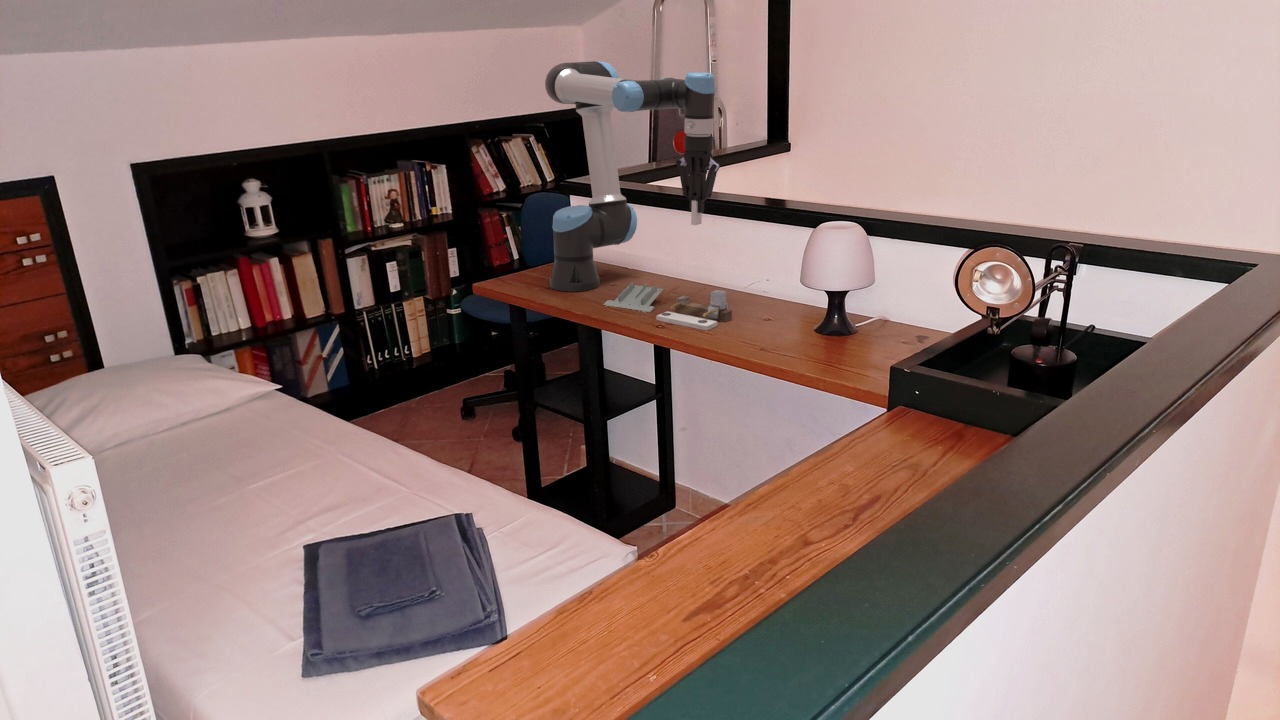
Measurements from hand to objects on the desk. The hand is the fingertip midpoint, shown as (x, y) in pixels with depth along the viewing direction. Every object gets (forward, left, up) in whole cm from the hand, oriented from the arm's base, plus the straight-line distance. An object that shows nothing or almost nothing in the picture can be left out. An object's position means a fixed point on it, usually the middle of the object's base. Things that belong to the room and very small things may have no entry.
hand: (696, 224), depth 246 cm
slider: (+11, -8, -22) cm, 26 cm away
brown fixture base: (+6, -8, -23) cm, 25 cm away
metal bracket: (-15, -7, -24) cm, 29 cm away
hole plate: (+6, -14, -23) cm, 28 cm away
